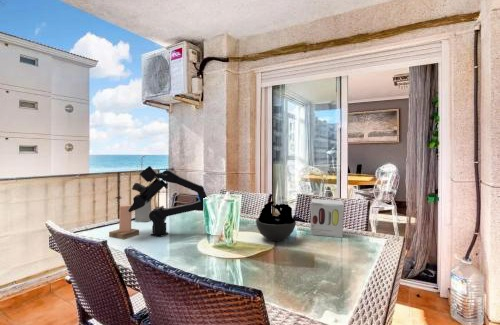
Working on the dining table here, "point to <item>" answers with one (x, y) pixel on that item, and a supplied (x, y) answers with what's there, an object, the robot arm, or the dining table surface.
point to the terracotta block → (125, 218)
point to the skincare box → (143, 213)
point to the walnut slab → (123, 234)
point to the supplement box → (327, 217)
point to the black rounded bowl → (276, 222)
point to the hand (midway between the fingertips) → (131, 209)
